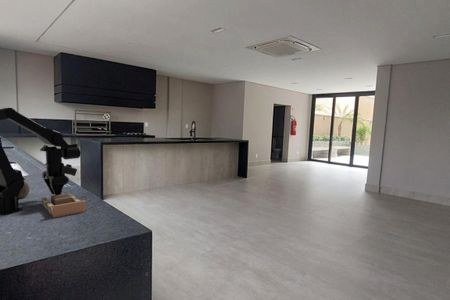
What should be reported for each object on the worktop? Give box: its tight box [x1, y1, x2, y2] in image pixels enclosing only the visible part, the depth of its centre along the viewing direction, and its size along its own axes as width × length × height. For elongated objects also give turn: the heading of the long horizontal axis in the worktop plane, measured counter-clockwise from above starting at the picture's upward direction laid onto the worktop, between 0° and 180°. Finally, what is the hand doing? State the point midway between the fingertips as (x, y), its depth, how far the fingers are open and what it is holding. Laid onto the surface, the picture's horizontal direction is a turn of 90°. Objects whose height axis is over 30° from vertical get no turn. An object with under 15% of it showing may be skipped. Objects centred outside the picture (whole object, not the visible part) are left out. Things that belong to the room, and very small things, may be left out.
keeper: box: [50, 193, 73, 205], centre depth 112 cm, size 8×6×4 cm
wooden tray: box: [41, 193, 81, 217], centre depth 111 cm, size 20×11×2 cm, turn 43°
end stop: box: [52, 199, 87, 218], centre depth 103 cm, size 2×11×4 cm, turn 133°
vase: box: [17, 180, 30, 200], centre depth 123 cm, size 7×7×9 cm
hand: (55, 196), depth 119 cm, fingers open, 8 cm apart
